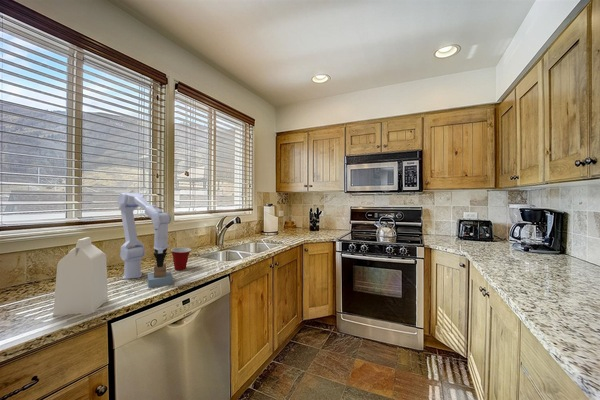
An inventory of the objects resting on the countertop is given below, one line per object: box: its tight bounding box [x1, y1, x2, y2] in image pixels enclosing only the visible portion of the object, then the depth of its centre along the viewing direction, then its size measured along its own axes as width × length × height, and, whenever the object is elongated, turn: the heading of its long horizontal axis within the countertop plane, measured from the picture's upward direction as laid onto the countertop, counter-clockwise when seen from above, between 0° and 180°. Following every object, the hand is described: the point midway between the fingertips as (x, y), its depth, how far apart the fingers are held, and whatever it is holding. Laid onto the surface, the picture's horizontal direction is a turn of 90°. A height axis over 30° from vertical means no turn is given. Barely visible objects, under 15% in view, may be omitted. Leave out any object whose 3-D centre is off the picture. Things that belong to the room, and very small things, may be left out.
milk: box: [52, 236, 109, 317], centre depth 93 cm, size 12×12×26 cm
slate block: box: [147, 271, 174, 289], centre depth 121 cm, size 10×10×4 cm
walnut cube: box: [153, 263, 167, 278], centre depth 121 cm, size 5×5×5 cm
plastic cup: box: [170, 246, 192, 271], centre depth 144 cm, size 11×11×12 cm
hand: (160, 264), depth 121 cm, fingers open, 7 cm apart
